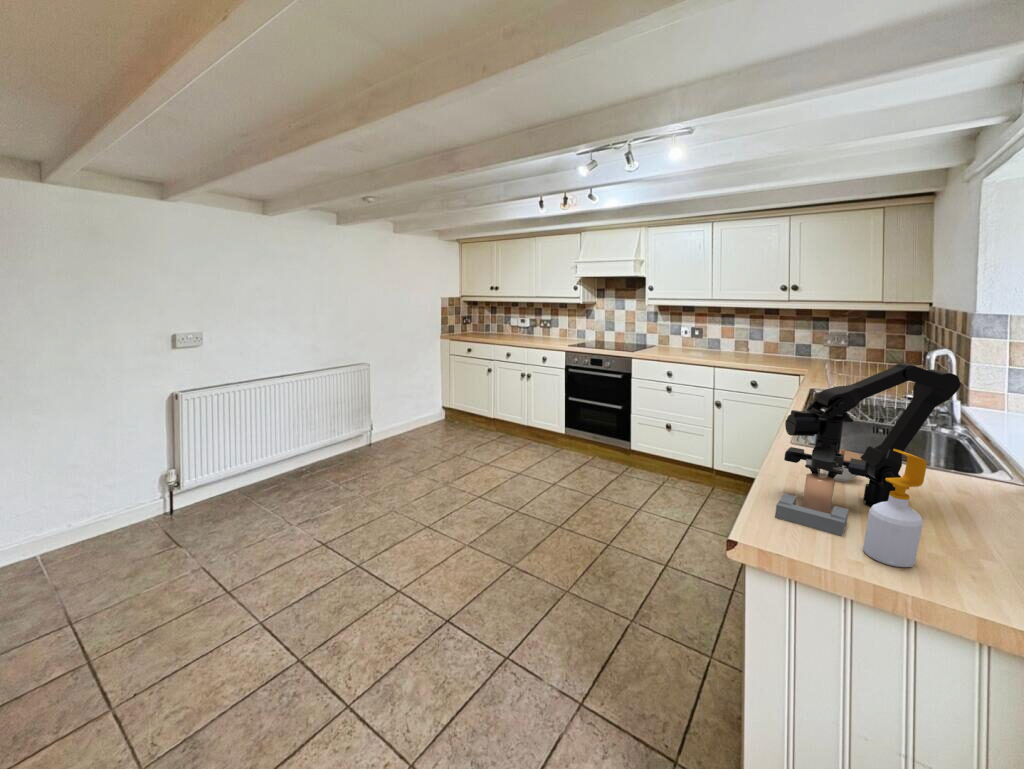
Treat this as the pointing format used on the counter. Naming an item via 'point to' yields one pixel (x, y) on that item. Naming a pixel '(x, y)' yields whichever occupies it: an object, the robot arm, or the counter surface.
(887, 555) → the soap bottle
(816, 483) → the tan handled cup
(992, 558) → the counter surface
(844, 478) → the lidded jar
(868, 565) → the counter surface
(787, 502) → the cradle
